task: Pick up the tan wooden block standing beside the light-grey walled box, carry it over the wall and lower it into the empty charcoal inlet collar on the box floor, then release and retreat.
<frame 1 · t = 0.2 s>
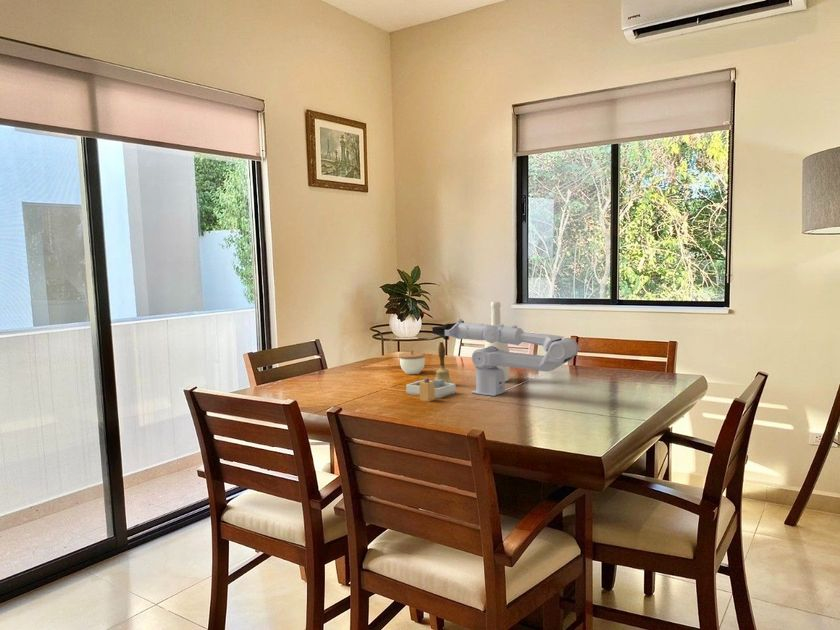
hand: (438, 328, 221), 21 cm above the table, tool horizontal, fingers open, 7 cm apart
wine bottle: (497, 380, 232), on the table
box: (430, 393, 212), on the table
lidded jar: (412, 373, 252), on the table
tan wooden block: (427, 399, 203), on the table
hand bell: (442, 385, 226), on the table
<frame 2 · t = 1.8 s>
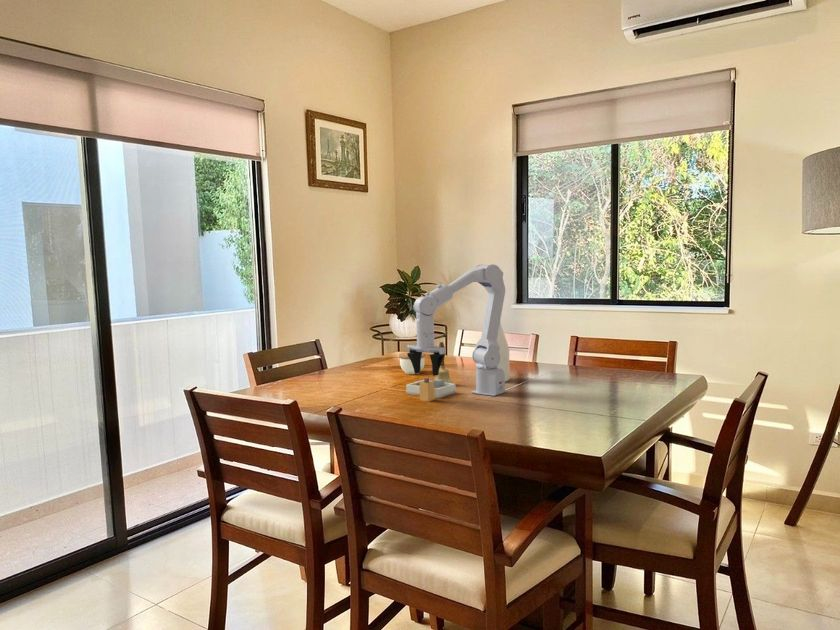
hand: (426, 374, 202), 9 cm above the table, tool pointing down, fingers open, 7 cm apart
nothing on the table moved.
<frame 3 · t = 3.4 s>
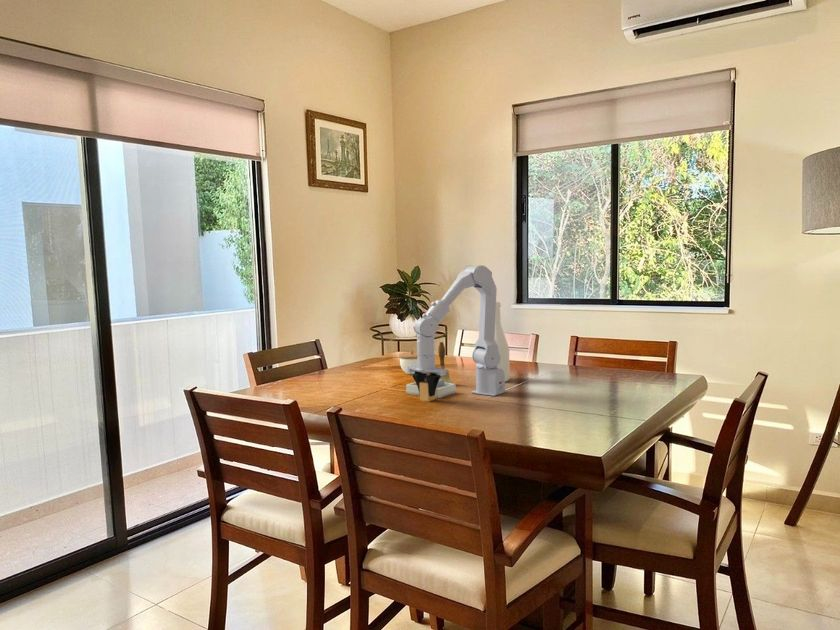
hand: (427, 395, 203), 2 cm above the table, tool pointing down, fingers closed on tan wooden block, 3 cm apart
tan wooden block: (427, 399, 203), on the table, touching gripper
everything else where it was.
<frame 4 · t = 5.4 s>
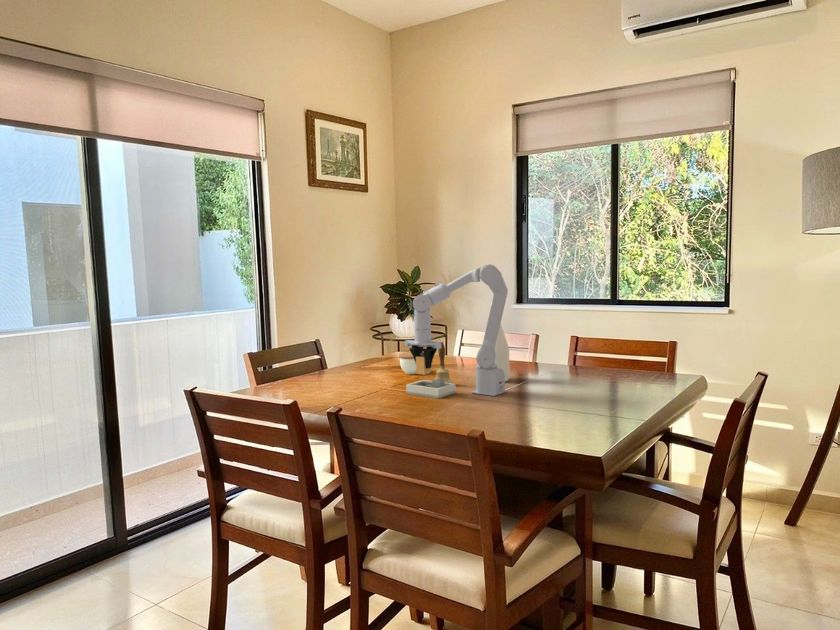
hand: (423, 367, 213), 9 cm above the table, tool pointing down, fingers closed on tan wooden block, 3 cm apart
tan wooden block: (423, 373, 213), point 7 cm above the table, touching gripper
everything else where it was.
when the fingers open (4 cm above the table, at t = 7.2 s): tan wooden block drops 1 cm, resting on box.
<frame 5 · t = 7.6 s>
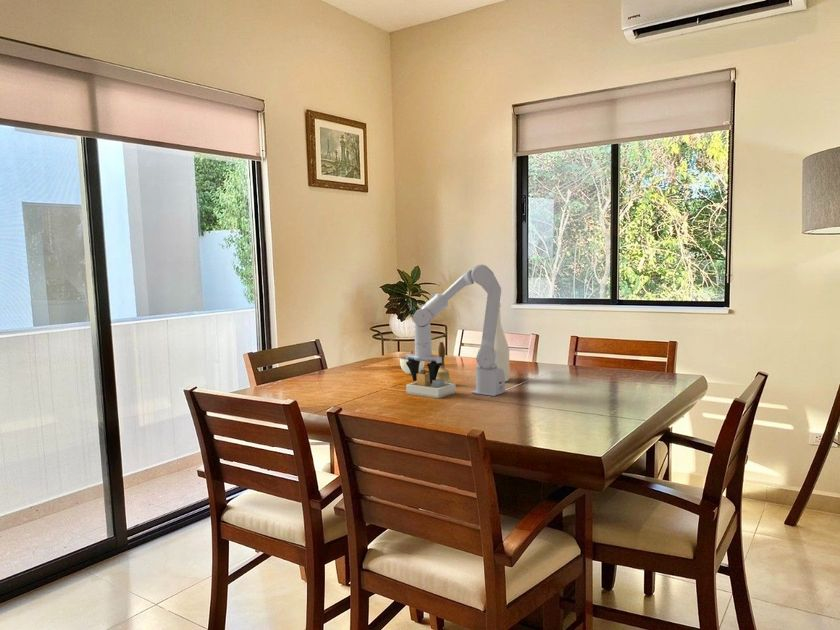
hand: (424, 381, 214), 4 cm above the table, tool pointing down, fingers open, 7 cm apart
tan wooden block: (423, 390, 214), point 1 cm above the table, touching box
everything else where it was.
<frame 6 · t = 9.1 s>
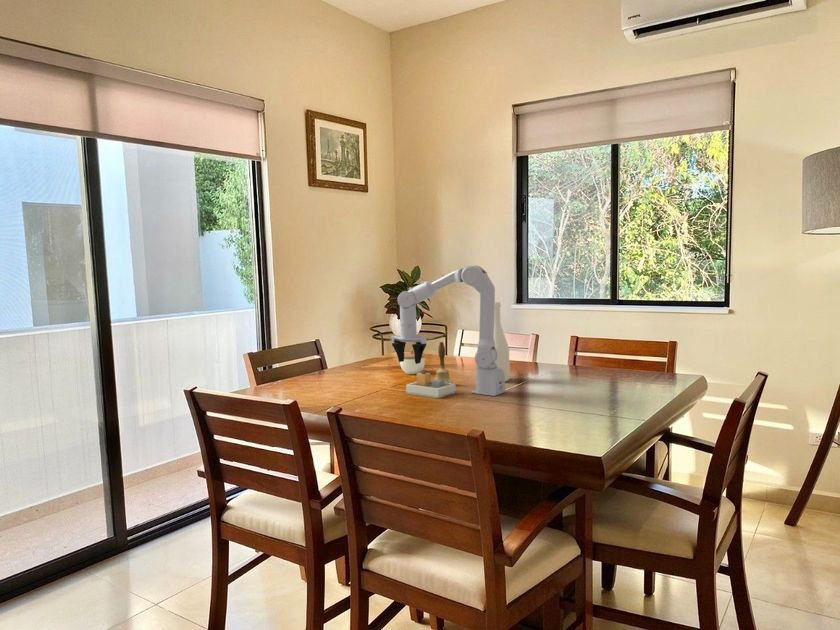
hand: (409, 362, 219), 10 cm above the table, tool pointing down, fingers open, 7 cm apart
nothing on the table moved.
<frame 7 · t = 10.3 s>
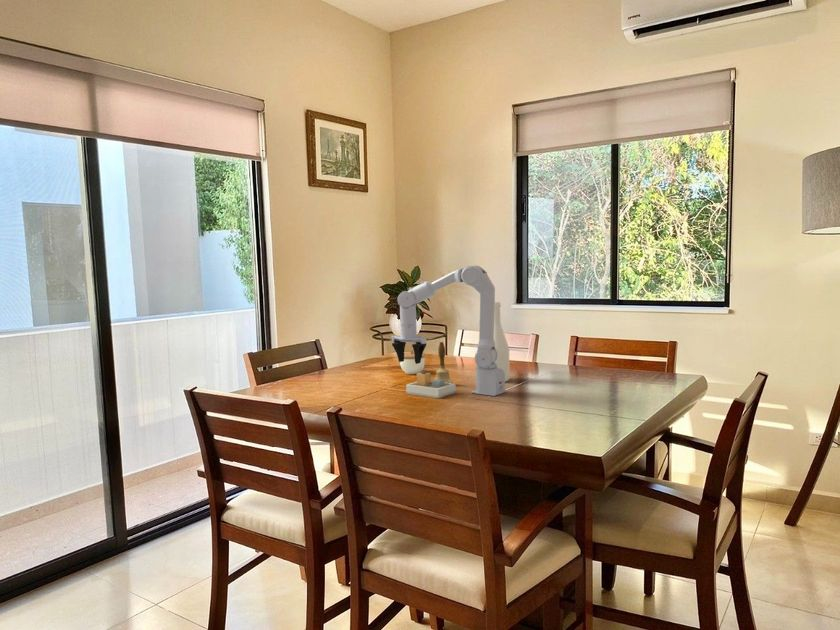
hand: (409, 362, 219), 10 cm above the table, tool pointing down, fingers open, 7 cm apart
nothing on the table moved.
at the end: tan wooden block 0.2 cm from the target spot on the box, point 0.8 cm above the box's base; tan wooden block tilted 0°; the gripper is holding nothing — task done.
